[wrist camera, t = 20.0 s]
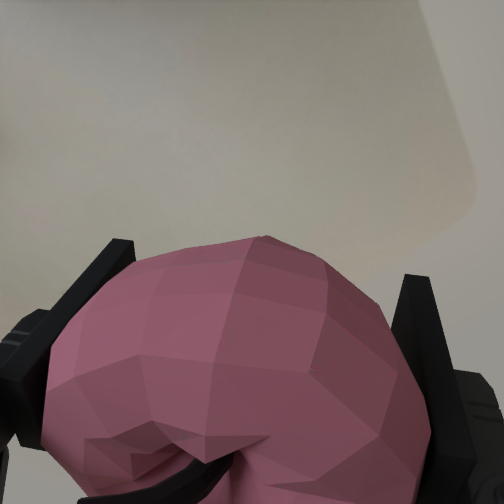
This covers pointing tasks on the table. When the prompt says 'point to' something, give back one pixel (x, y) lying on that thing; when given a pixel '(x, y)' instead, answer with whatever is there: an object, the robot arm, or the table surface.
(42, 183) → the table surface
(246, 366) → the apple
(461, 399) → the robot arm
